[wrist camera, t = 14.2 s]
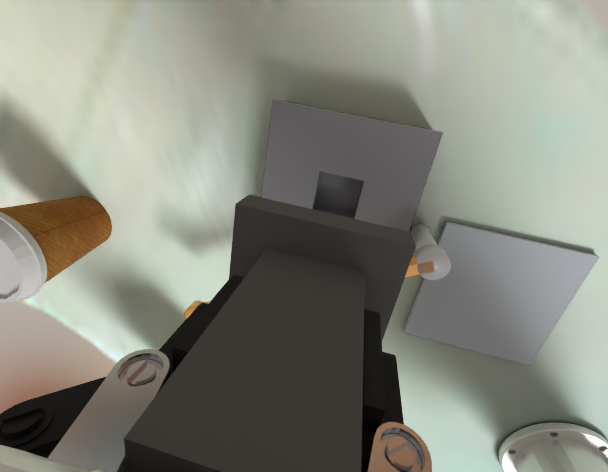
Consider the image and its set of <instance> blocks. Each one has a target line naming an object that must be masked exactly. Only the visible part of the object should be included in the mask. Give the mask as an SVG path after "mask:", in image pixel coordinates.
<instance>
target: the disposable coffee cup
mask: <svg viewBox="0 0 608 472" xmlns="http://www.w3.org/2000/svg"><path fill="white" fill-rule="evenodd" d="M111 231H112V226H111V221H110V218H109V216H108V214H107V212H106V211H105V209H104V208H103V207H102V206H101V205H100V204H99V203H98V202H96V201H95V200H93V199H91V198H88V197H84V196H78V197H72V198H66V199H59V200H53V201H46V202H39V203H33V204H27V205H20V206H13V207H7V208H0V302H12V301H15V300H24V299H27V298H30V297H32V296H34V295H35V294H36V293H37V292H38V291H39V290H40V288H41V287H42V286H43V285H44V283H46V282H47V281H49V280H50V279H52V278H53V277H54V276H56V275H57V274H59V273H60V272H61V271H63V270H64V269H66V268H67V267H69V266H70V265H72V264H73V263H74V262H76V261H77V260H79V259H80V258H82V257H83V256H84V255H86V254H87V253H89V252H90V251H92V250H93V249H94V248H96V247H97V246H99V245H100V244H102V243H103V242H105V241H106V240H107V239H108V238H109V237H110V235H111Z"/></svg>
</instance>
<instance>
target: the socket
mask: <svg viewBox="0 0 608 472" xmlns="http://www.w3.org/2000/svg"><path fill="white" fill-rule="evenodd" d="M442 134H443V133H442V132H438V131H435V130H431V129H425V128H420V127H415V126H410V125H405V124H400V123H394V122H389V121H384V120H379V119H374V118H369V117H363V116H358V115H353V114H348V113H343V112H338V111H332V110H327V109H322V108H317V107H312V106H307V105H301V104H296V103H291V102H286V101H278V100H273V103H272V111H271V119H270V128H269V136H268V144H267V152H266V161H265V169H264V177H263V185H262V194H261V197H262V198H266V199H270V200H275V201H279V202H283V203H288V204H292V205H296V206H301V207H305V208H309V209H314V210H318V211H322V212H327V213H331V214H335V215H340V216H344V217H348V218H353V219H357V220H361V221H366V222H370V223H374V224H379V225H383V226H387V227H392V228H396V229H400V230H404V231H409V230H410V227H411V224H412V221H413V218H414V216H415V213H416V210H417V207H418V204H419V201H420V198H421V195H422V192H423V189H424V186H425V184H426V181H427V178H428V175H429V172H430V169H431V166H432V163H433V160H434V157H435V154H436V151H437V149H438V146H439V143H440V140H441V137H442ZM410 232H411V234H412V237H413V240H414V243H415V245H416V247H415V253H416V252H417V250H418V249H419V248H421V247H422V246H425V245H428V244H434V245H437V243H436V241H435V240H434V238H433V236H432V234H431V232H430V230H429V228H428V227H427V226H425V225H422V224H418V225H415V226H414V227H412V228H411V230H410Z"/></svg>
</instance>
